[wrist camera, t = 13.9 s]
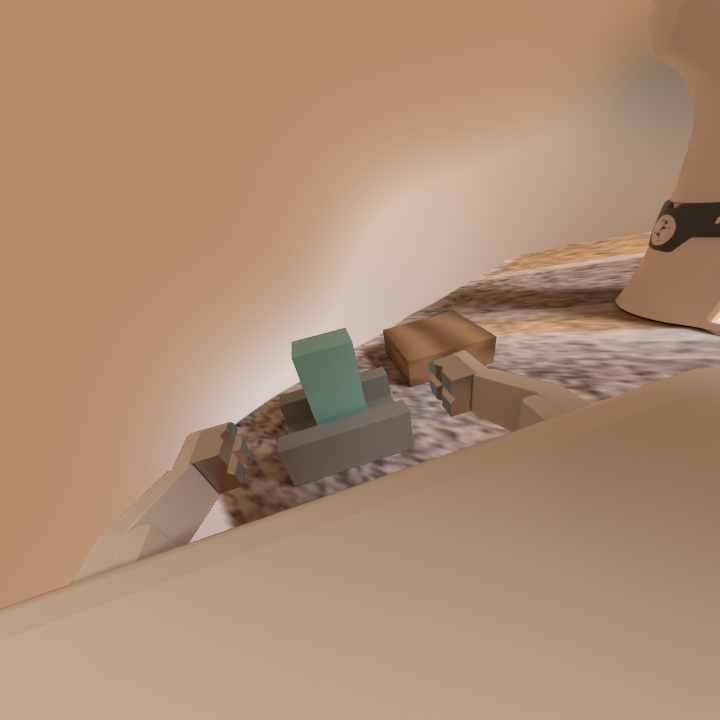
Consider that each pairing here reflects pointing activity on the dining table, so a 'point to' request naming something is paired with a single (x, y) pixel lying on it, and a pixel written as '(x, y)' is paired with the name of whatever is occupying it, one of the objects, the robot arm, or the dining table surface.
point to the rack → (343, 432)
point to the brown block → (435, 344)
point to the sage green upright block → (329, 375)
